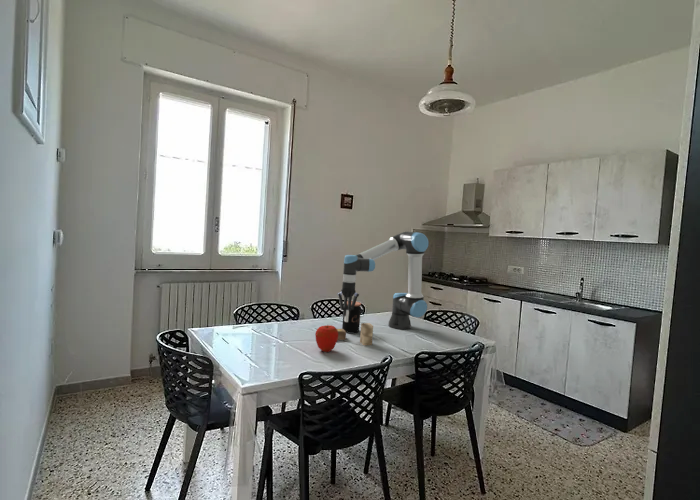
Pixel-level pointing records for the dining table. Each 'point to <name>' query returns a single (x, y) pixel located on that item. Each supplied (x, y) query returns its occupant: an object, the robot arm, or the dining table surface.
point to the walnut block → (341, 334)
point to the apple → (326, 337)
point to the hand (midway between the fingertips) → (346, 321)
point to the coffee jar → (352, 319)
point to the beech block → (366, 334)
